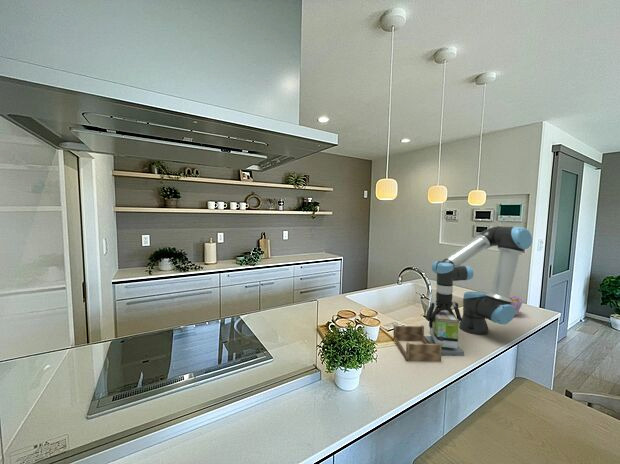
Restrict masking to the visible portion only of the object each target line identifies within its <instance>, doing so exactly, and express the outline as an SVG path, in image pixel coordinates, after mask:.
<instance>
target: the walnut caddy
mask: <svg viewBox="0 0 620 464" xmlns="http://www.w3.org/2000/svg"><path fill="white" fill-rule="evenodd" d="M392 332H393V337H392V338H393V339H394V340H395V342H396V343H395V342H394V343H395V345H396V346H397V348H398V350H399V351H400V353H401V354H402V355H403V357H404V359H405V361H406V362H442V356H441V354H442V344H441V343H438V344H429V343H428V342H427V341H426V340H425V338H424V336H425V326H424V325H415V326H414V325H396V324H394V325H393V331H392ZM393 339H392V340H393ZM394 340H393V341H394ZM401 342H406V343H405V344H406V345H405V347H403V345H402V344H401ZM409 342H421V343H409Z"/></svg>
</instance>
